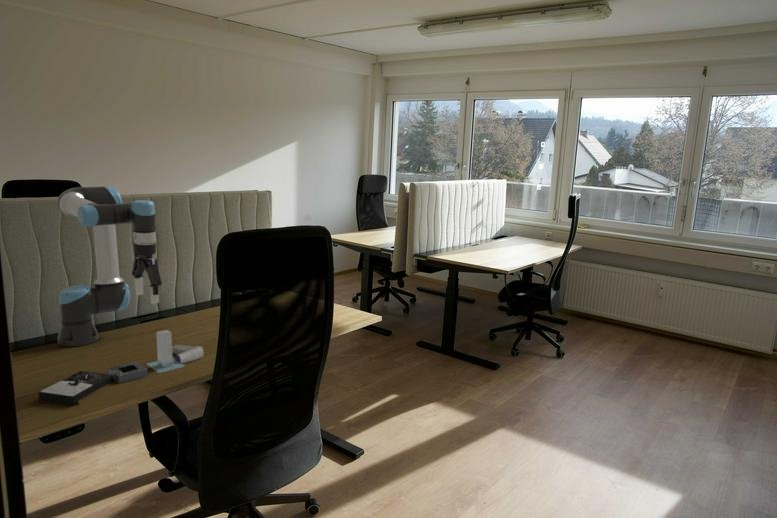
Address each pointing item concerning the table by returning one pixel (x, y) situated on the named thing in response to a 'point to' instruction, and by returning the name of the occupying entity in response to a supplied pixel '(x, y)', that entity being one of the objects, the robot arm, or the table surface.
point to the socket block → (128, 372)
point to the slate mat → (159, 369)
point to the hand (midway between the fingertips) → (147, 298)
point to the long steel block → (164, 348)
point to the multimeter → (74, 388)
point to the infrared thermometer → (187, 353)
